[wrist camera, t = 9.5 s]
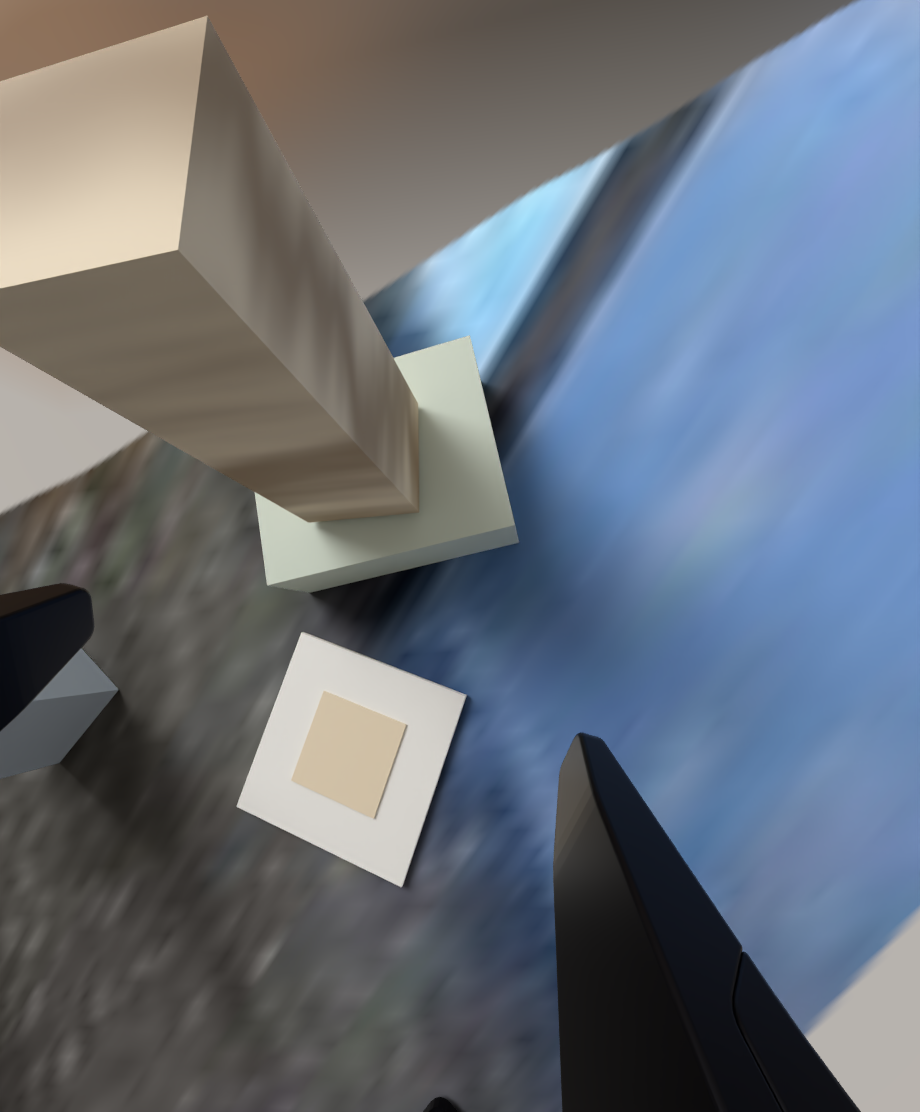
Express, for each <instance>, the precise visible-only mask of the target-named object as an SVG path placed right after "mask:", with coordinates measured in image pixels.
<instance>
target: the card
mask: <svg viewBox="0 0 920 1112" xmlns="http://www.w3.org/2000/svg"><path fill="white" fill-rule="evenodd" d="M466 696H467V695H466V694H463V693H461V692H458V691H455V690H453V689H450V688H448V687H445V686H442V685H440V684H437V683H435V682H432V681H429V680H427V679H424V678H422V677H419V676H417V675H414V674H411V673H409V672H406V671H404V670H401V669H398V668H396V667H393V666H391V665H388V664H385V663H383V662H380V661H378V660H375V659H373V658H370V657H367V656H365V655H362V654H360V653H357V652H354V651H352V650H349V649H347V648H344V647H341V646H339V645H336V644H334V643H331V642H329V641H326V640H323V639H321V638H318V637H316V636H313V635H310V634H308V633H305V632H302V633H301V635H300V638H299V641H298V643H297V646H296V649H295V651H294V654H293V657H292V659H291V662H290V665H289V667H288V670H287V673H286V675H285V678H284V681H283V683H282V686H281V689H280V691H279V694H278V697H277V699H276V702H275V705H274V707H273V710H272V713H271V716H270V718H269V721H268V724H267V726H266V729H265V732H264V734H263V737H262V740H261V742H260V745H259V748H258V750H257V753H256V756H255V758H254V761H253V764H252V766H251V769H250V772H249V774H248V777H247V780H246V782H245V785H244V788H243V790H242V793H241V796H240V798H239V801H238V804H237V806H236V807H238V808H240V809H242V810H244V811H246V812H248V813H251V814H253V815H255V816H257V817H259V818H261V819H263V820H265V821H267V822H269V823H271V824H273V825H275V826H277V827H279V828H281V829H283V830H285V831H287V832H289V833H291V834H293V835H295V836H298V837H300V838H302V839H304V840H306V841H308V842H310V843H312V844H314V845H316V846H318V847H320V848H322V849H324V850H326V851H328V852H330V853H332V854H334V855H336V856H338V857H340V858H343V859H345V860H347V861H349V862H351V863H353V864H355V865H357V866H359V867H361V868H363V869H365V870H367V871H369V872H371V873H373V874H375V875H377V876H379V877H381V878H383V879H385V880H387V881H390V882H392V883H394V884H396V885H398V886H400V887H402V886H403V884H404V881H405V878H406V875H407V872H408V869H409V866H410V864H411V861H412V858H413V855H414V852H415V849H416V846H417V843H418V840H419V837H420V834H421V831H422V828H423V825H424V822H425V819H426V816H427V813H428V810H429V807H430V804H431V801H432V798H433V795H434V792H435V789H436V786H437V783H438V780H439V777H440V774H441V771H442V768H443V765H444V762H445V759H446V756H447V753H448V750H449V747H450V744H451V741H452V738H453V735H454V732H455V729H456V726H457V723H458V720H459V717H460V714H461V711H462V708H463V705H464V702H465V699H466Z"/></svg>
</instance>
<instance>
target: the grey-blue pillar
mask: <svg viewBox="0 0 920 1112" xmlns="http://www.w3.org/2000/svg"><path fill="white" fill-rule="evenodd" d="M118 690H119V689H118V688H117V687H116V686H115V685H114V684H113V683H112V682H111V680H110V679H109V678H108V677H107V676H106V675H105V674H104V673H103V672H102V670H101V669H100V668H99V667H98V666H97V665H96V664H95V663H94V662H93V661H92V659H91V658H90V657H89V656H88V655H87V654H86V653H85V652H84V651H83V649H82V648H81V649H80V650H79V651H78V652H77V653H76V654H75V656H74V657H73V658H72V659H71V660H70V661H69V662H68V663H67V664H66V665H65V666H64V667H63V669H62V670H61V671H60V672H59V673H58V674H57V675H56V676H55V677H54V678H53V679H52V681H51V682H50V683H49V684H48V685H47V686H46V687H45V688H44V689H43V690H42V691H41V692H40V694H39V695H38V696H37V697H36V698H35V699H34V700H33V701H32V702H31V703H30V704H29V705H28V706H27V707H26V708H25V709H24V710H23V711H22V712H21V713H20V714H19V715H18V716H17V717H16V718H15V719H14V720H13V721H12V722H10V723H9V724H8V725H7V726H6V727H5V728H4V729H3V730H2V731H1V732H0V779H1V778H5V777H9V776H12V775H16V774H20V773H24V772H28V771H31V770H35V769H39V768H43V767H46V766H50V765H54V764H58V763H60V762H61V760H62V759H63V758H64V757H65V756H66V754H67V753H68V752H69V751H70V749H71V748H72V747H73V746H74V744H75V743H76V742H77V741H78V739H79V738H80V737H81V736H82V735H83V733H84V732H85V731H86V730H87V728H88V727H89V726H90V725H91V723H92V722H93V721H94V720H95V719H96V717H97V716H98V715H99V714H100V712H101V711H102V710H103V709H104V707H105V706H106V705H107V704H108V703H109V701H110V700H111V699H112V698H113V696H114V695H115V694H116V693H117V691H118Z"/></svg>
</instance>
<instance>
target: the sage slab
mask: <svg viewBox="0 0 920 1112" xmlns="http://www.w3.org/2000/svg"><path fill="white" fill-rule="evenodd" d="M394 360H395V362H396V364H397V366H398V368H399V369H400V371H401V373H402V375H403V377H404V379H405V380H406V382H407V384H408V386H409V388H410V390H411V391H412V393H413V395H414V397H415V399H416V401H417V402H418V424H419V513H409V514H398V515H387V516H376V517H365V518H354V519H343V520H332V521H321V522H311V523H308V522H306V521H305V520H303V519H301V518H299V517H298V516H296V515H294V514H292V513H291V512H289V511H287V510H285V509H284V508H282V507H280V506H278V505H277V504H275V503H273V502H271V501H270V500H268V499H266V498H264V497H263V496H261V495H259V494H257V493H256V492H255V497H256V505H257V512H258V520H259V527H260V535H261V542H262V550H263V557H264V565H265V572H266V580H267V585H268V586H274V587H280V588H285V589H291V590H297V591H302V592H308V593H311V592H315V591H319V590H323V589H327V588H332V587H336V586H340V585H344V584H348V583H353V582H357V581H361V580H365V579H369V578H373V577H378V576H382V575H386V574H390V573H394V572H399V571H403V570H407V569H411V568H415V567H420V566H424V565H428V564H432V563H436V562H441V561H445V560H449V559H453V558H457V557H462V556H466V555H470V554H474V553H478V552H482V551H487V550H491V549H495V548H499V547H503V546H508V545H512V544H516V543H519V539H518V535H517V531H516V526H515V522H514V518H513V514H512V510H511V505H510V501H509V497H508V493H507V489H506V484H505V480H504V476H503V472H502V468H501V463H500V459H499V455H498V451H497V447H496V442H495V438H494V434H493V430H492V426H491V421H490V417H489V413H488V409H487V405H486V400H485V396H484V392H483V388H482V383H481V379H480V375H479V371H478V367H477V363H476V359H475V355H474V351H473V347H472V343H471V339H470V336H466V337H463V338H460V339H456V340H453V341H449V342H446V343H443V344H439V345H436V346H433V347H429V348H426V349H423V350H419V351H416V352H413V353H409V354H406V355H402V356H399V357H396V358H394Z"/></svg>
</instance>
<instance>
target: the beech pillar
mask: <svg viewBox="0 0 920 1112" xmlns="http://www.w3.org/2000/svg"><path fill="white" fill-rule="evenodd" d="M0 347H2V348H4V349H5V350H7V351H9V352H11V353H12V354H14V355H16V356H18V357H20V358H21V359H23V360H25V361H26V362H28V363H30V364H32V365H33V366H35V367H37V368H39V369H40V370H42V371H44V372H46V373H47V374H49V375H51V376H53V377H54V378H56V379H58V380H60V381H61V382H63V383H65V384H67V385H68V386H70V387H72V388H74V389H75V390H77V391H79V392H81V393H82V394H84V395H86V396H88V397H89V398H91V399H93V400H95V401H96V402H98V403H100V404H102V405H103V406H105V407H107V408H109V409H110V410H112V411H114V412H116V413H117V414H119V415H121V416H123V417H124V418H126V419H128V420H130V421H131V422H133V423H135V424H137V425H139V426H140V427H142V428H144V429H145V430H147V431H149V432H151V433H152V434H154V435H156V436H158V437H159V438H161V439H163V440H165V441H166V442H168V443H170V444H172V445H173V446H175V447H177V448H179V449H180V450H182V451H184V452H186V453H187V454H189V455H191V456H193V457H194V458H196V459H198V460H200V461H201V462H203V463H205V464H207V465H208V466H210V467H212V468H214V469H215V470H217V471H219V472H221V473H222V474H224V475H226V476H228V477H229V478H231V479H233V480H235V481H236V482H238V483H240V484H242V485H243V486H245V487H247V488H249V489H250V490H252V491H254V492H256V493H257V494H259V495H261V496H263V497H264V498H266V499H268V500H270V501H271V502H273V503H275V504H277V505H278V506H280V507H282V508H284V509H285V510H287V511H289V512H291V513H292V514H294V515H296V516H298V517H299V518H301V519H303V520H305V521H306V522H308V523H311V522H321V521H332V520H343V519H354V518H365V517H376V516H387V515H398V514H409V513H419V424H418V402H417V401H416V399H415V397H414V395H413V393H412V391H411V390H410V388H409V386H408V384H407V382H406V380H405V379H404V377H403V375H402V373H401V371H400V369H399V368H398V366H397V364H396V362H395V360H394V358H393V356H392V355H391V353H390V351H389V349H388V347H387V345H386V344H385V342H384V340H383V338H382V336H381V334H380V333H379V331H378V329H377V327H376V325H375V323H374V322H373V320H372V318H371V316H370V314H369V312H368V310H367V309H366V307H365V305H364V303H363V301H362V299H361V298H360V296H359V294H358V292H357V290H356V289H355V287H354V285H353V283H352V281H351V279H350V277H349V276H348V274H347V272H346V270H345V268H344V266H343V264H342V263H341V261H340V259H339V257H338V256H337V253H336V252H335V250H334V248H333V246H332V244H331V242H330V241H329V239H328V237H327V235H326V233H325V232H324V230H323V228H322V226H321V224H320V222H319V220H318V219H317V217H316V215H315V213H314V211H313V209H312V208H311V206H310V204H309V202H308V200H307V198H306V196H305V195H304V193H303V191H302V189H301V187H300V185H299V184H298V182H297V180H296V178H295V176H294V174H293V173H292V171H291V169H290V167H289V165H288V163H287V161H286V160H285V158H284V156H283V154H282V152H281V150H280V149H279V147H278V145H277V143H276V141H275V139H274V137H273V136H272V134H271V132H270V130H269V128H268V127H267V125H266V123H265V121H264V119H263V117H262V115H261V114H260V112H259V110H258V108H257V106H256V104H255V103H254V101H253V99H252V97H251V95H250V93H249V92H248V90H247V88H246V86H245V84H244V82H243V81H242V79H241V77H240V75H239V73H238V71H237V69H236V68H235V66H234V64H233V62H232V60H231V58H230V57H229V55H228V53H227V51H226V49H225V47H224V46H223V44H222V42H221V40H220V38H219V36H218V34H217V33H216V31H215V29H214V27H213V25H212V23H211V22H210V20H209V18H208V16H205V17H202V18H199V19H196V20H193V21H190V22H186V23H183V24H180V25H177V26H174V27H171V28H168V29H164V30H161V31H158V32H155V33H152V34H149V35H145V36H142V37H139V38H136V39H133V40H130V41H126V42H123V43H120V44H117V45H114V46H111V47H107V48H104V49H101V50H98V51H95V52H92V53H89V54H86V55H82V56H79V57H76V58H73V59H70V60H67V61H63V62H60V63H57V64H54V65H51V66H48V67H44V68H41V69H38V70H35V71H32V72H29V73H26V74H22V75H19V76H16V77H13V78H10V79H7V80H3V81H0Z"/></svg>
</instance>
